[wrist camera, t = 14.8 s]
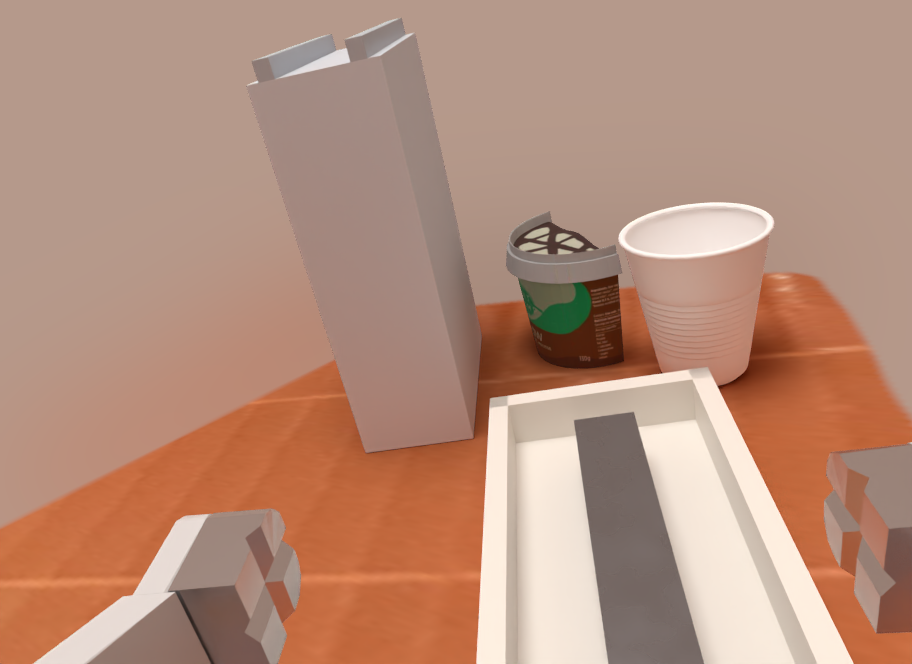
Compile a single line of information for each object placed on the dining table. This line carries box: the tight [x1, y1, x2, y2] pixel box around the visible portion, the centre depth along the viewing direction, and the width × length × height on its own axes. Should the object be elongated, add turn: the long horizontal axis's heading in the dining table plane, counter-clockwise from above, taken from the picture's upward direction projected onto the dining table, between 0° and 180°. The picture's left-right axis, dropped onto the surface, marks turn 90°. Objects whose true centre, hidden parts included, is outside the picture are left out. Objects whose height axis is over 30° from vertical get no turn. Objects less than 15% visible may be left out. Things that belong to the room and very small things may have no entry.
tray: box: [477, 367, 853, 664], centre depth 34 cm, size 14×31×4 cm, turn 176°
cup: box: [618, 203, 775, 386], centre depth 50 cm, size 10×10×11 cm
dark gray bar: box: [574, 412, 704, 664], centre depth 32 cm, size 4×24×4 cm, turn 176°
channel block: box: [246, 18, 482, 453], centre depth 53 cm, size 8×16×27 cm, turn 176°
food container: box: [506, 212, 624, 368], centre depth 58 cm, size 12×6×10 cm, turn 18°
